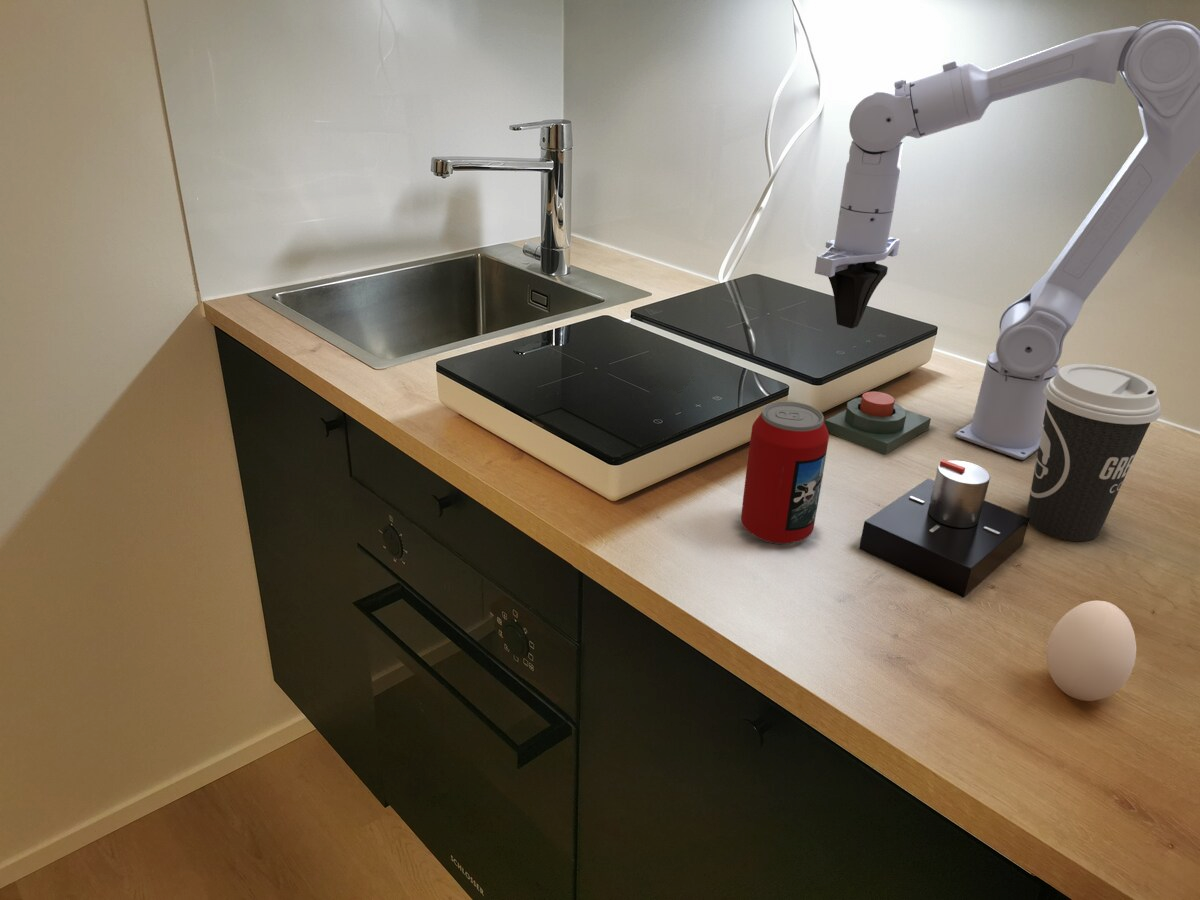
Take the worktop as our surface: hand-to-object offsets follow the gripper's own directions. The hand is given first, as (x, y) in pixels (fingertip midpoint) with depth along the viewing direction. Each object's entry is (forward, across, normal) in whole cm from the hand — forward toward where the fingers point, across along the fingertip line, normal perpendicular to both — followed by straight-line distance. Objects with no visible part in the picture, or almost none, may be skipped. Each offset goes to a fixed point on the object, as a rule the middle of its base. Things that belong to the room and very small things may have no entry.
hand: (847, 325), depth 106 cm
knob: (+7, +19, +24) cm, 31 cm away
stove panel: (+10, +20, +24) cm, 33 cm away
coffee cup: (+11, +7, +30) cm, 33 cm away
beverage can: (+11, +29, +12) cm, 33 cm away
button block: (+10, +2, +7) cm, 13 cm away
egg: (+11, +31, +40) cm, 52 cm away
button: (+8, +3, +7) cm, 11 cm away
